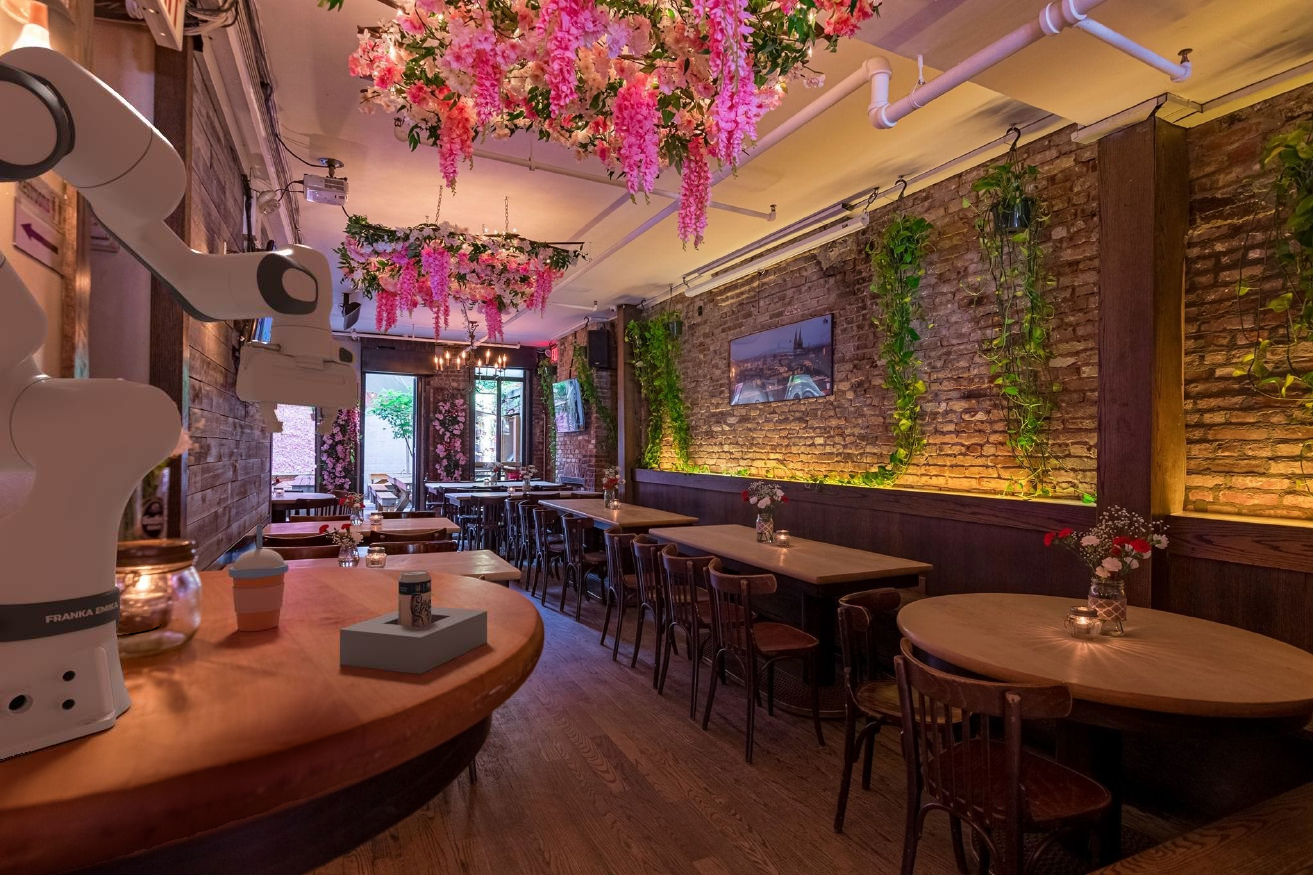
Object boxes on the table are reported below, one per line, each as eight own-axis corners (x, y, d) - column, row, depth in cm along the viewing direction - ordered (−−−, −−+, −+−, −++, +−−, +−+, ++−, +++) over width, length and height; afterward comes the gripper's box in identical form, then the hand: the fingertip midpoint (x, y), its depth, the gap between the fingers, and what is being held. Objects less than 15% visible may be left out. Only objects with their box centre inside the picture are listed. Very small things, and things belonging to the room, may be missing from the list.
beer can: (420, 656, 97) (421, 575, 98) (391, 655, 98) (391, 574, 99) (437, 647, 102) (437, 570, 102) (408, 646, 103) (409, 569, 103)
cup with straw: (232, 624, 117) (233, 523, 118) (290, 618, 121) (291, 521, 122) (223, 636, 109) (224, 528, 110) (285, 630, 113) (286, 525, 114)
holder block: (420, 674, 90) (420, 637, 90) (339, 664, 94) (339, 629, 94) (487, 642, 105) (487, 610, 105) (414, 635, 109) (414, 605, 109)
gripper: (257, 336, 96) (255, 430, 95) (364, 356, 115) (363, 435, 114) (226, 339, 98) (224, 431, 97) (336, 358, 117) (335, 436, 117)
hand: (300, 433), depth 106 cm, fingers open, 8 cm apart
